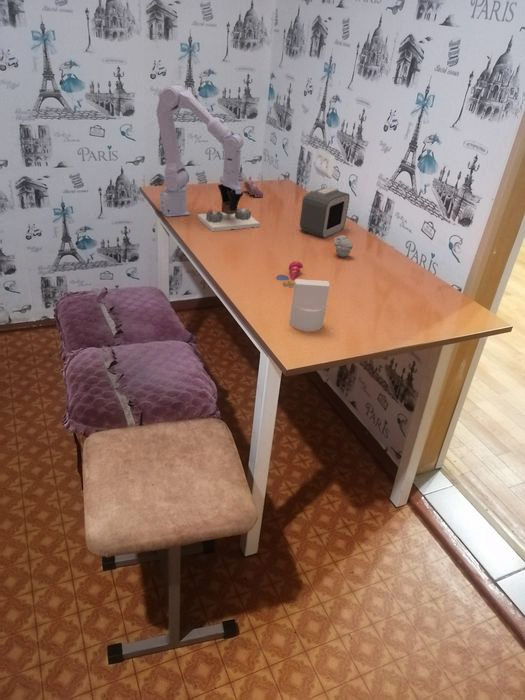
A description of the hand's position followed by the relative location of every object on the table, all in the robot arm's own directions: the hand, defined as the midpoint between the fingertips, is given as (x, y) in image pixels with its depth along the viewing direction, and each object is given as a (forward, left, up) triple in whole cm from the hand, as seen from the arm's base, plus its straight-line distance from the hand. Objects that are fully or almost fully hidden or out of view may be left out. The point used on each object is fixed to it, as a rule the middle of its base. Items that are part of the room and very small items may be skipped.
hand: (229, 207), depth 208 cm
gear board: (0, 0, -6) cm, 6 cm away
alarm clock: (+31, -15, -6) cm, 35 cm away
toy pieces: (-1, -50, -6) cm, 50 cm away
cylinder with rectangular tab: (-11, -74, -6) cm, 76 cm away
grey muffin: (+25, -38, -6) cm, 46 cm away
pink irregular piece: (+24, +29, -6) cm, 38 cm away
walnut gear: (0, 0, -2) cm, 2 cm away
